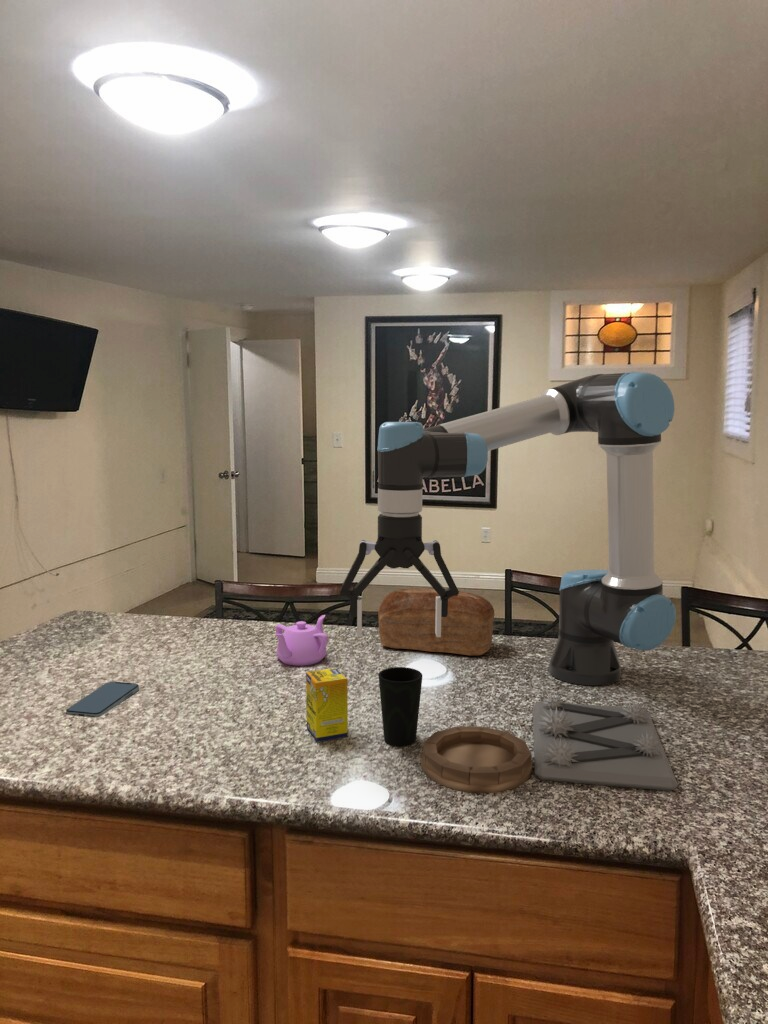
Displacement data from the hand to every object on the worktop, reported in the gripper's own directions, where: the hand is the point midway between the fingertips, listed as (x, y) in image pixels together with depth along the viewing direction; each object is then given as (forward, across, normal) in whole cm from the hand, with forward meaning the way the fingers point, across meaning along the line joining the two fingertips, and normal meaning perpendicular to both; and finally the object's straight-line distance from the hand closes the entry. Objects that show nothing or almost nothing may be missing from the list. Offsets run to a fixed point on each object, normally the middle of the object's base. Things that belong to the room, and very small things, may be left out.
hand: (398, 635), depth 134 cm
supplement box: (+19, +13, -2) cm, 23 cm away
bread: (+19, -11, -52) cm, 56 cm away
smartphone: (+20, +58, -18) cm, 64 cm away
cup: (+19, 0, 0) cm, 19 cm away
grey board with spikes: (+20, -34, +3) cm, 40 cm away
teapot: (+19, +21, -44) cm, 52 cm away
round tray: (+19, -12, +10) cm, 25 cm away
